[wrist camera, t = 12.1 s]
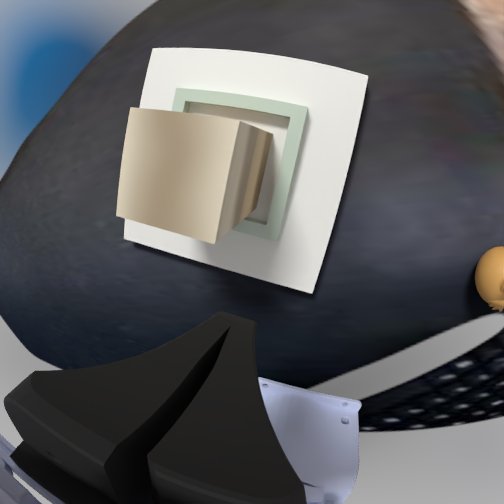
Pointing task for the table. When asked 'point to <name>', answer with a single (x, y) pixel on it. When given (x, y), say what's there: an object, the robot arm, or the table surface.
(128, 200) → the block stack
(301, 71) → the collar board
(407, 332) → the table surface
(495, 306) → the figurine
